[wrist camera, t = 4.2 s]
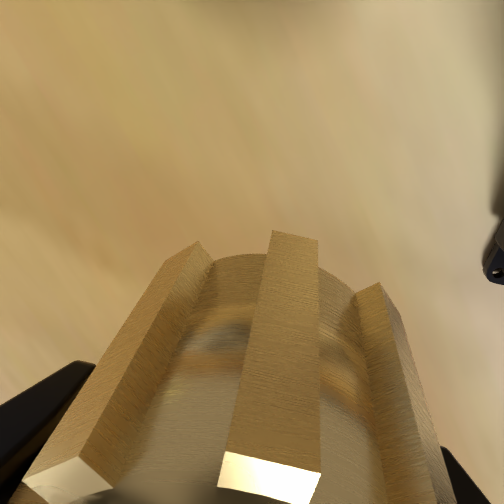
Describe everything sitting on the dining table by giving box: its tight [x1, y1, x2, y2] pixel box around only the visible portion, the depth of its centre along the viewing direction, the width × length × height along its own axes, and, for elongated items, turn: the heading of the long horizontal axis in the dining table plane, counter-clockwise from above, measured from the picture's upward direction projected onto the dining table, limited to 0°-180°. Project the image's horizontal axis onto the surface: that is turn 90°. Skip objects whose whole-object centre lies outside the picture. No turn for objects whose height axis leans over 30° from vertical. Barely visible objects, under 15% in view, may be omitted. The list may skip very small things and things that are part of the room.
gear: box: [7, 230, 457, 504], centre depth 7 cm, size 6×6×6 cm
